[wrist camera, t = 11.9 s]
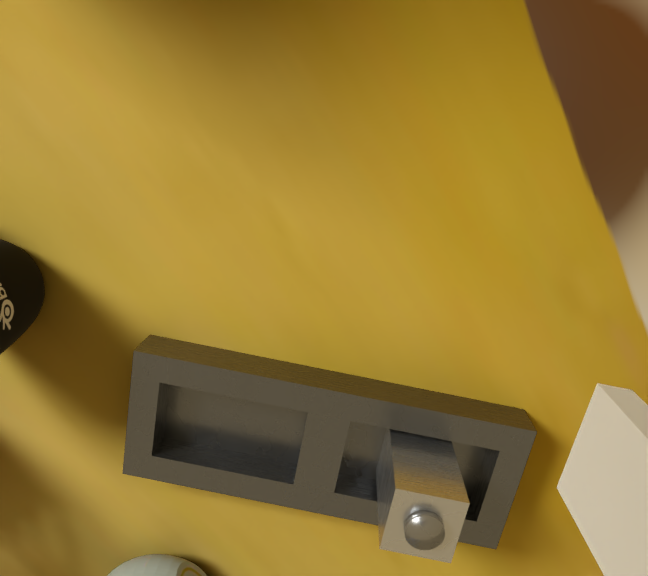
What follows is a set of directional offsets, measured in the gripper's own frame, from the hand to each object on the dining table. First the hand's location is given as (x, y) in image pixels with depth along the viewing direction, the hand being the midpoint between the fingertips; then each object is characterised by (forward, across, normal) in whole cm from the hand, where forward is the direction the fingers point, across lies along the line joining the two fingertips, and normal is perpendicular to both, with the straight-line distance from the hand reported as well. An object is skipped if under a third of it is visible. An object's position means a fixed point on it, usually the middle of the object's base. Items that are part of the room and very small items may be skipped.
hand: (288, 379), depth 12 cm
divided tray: (+25, +3, -17) cm, 30 cm away
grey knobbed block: (+24, +9, -17) cm, 31 cm away
